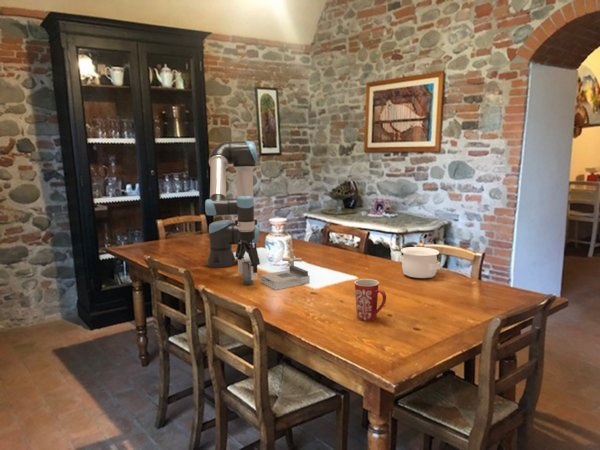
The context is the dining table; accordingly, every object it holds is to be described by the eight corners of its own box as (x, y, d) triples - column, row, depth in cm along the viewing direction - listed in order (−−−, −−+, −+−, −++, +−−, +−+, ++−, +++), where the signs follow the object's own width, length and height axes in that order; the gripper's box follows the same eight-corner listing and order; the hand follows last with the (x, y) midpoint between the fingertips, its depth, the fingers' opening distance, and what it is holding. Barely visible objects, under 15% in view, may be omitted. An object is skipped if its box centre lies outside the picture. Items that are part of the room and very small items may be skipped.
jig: (260, 282, 218) (260, 270, 217) (293, 276, 227) (293, 265, 226) (275, 290, 206) (275, 277, 205) (309, 283, 216) (309, 271, 215)
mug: (348, 317, 173) (349, 282, 171) (364, 311, 179) (364, 277, 177) (376, 326, 164) (376, 289, 162) (391, 319, 170) (392, 284, 168)
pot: (449, 277, 223) (450, 252, 221) (429, 284, 212) (430, 258, 209) (410, 268, 239) (411, 244, 237) (389, 274, 228) (390, 250, 226)
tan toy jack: (299, 272, 234) (299, 252, 232) (280, 271, 236) (280, 252, 234) (303, 267, 243) (303, 248, 242) (285, 266, 245) (284, 247, 244)
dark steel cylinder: (241, 283, 216) (240, 262, 214) (250, 281, 219) (249, 261, 217) (245, 286, 212) (244, 264, 210) (255, 284, 215) (254, 263, 213)
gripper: (227, 227, 219) (229, 271, 223) (251, 235, 199) (252, 283, 202) (241, 226, 223) (243, 269, 227) (266, 233, 203) (268, 281, 206)
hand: (247, 276), depth 214 cm, fingers open, 13 cm apart
